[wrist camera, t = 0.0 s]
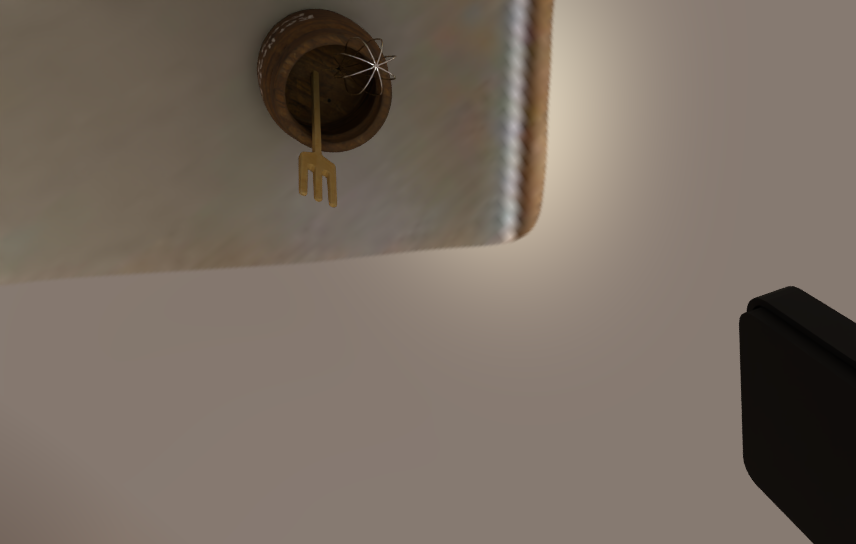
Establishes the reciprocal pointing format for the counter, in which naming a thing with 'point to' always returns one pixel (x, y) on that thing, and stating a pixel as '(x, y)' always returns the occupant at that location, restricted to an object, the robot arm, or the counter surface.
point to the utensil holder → (324, 88)
